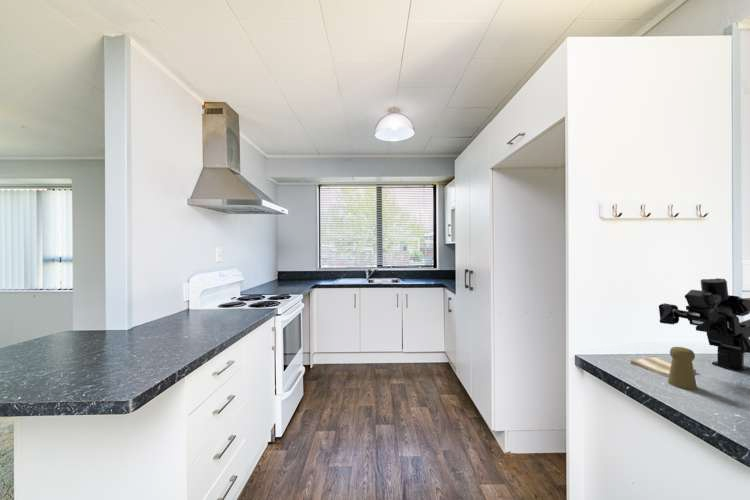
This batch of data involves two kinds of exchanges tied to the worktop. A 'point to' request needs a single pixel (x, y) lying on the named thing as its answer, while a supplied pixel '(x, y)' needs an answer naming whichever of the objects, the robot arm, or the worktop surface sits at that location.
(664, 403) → the worktop surface
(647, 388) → the worktop surface
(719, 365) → the robot arm
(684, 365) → the cork
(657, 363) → the birch trivet
